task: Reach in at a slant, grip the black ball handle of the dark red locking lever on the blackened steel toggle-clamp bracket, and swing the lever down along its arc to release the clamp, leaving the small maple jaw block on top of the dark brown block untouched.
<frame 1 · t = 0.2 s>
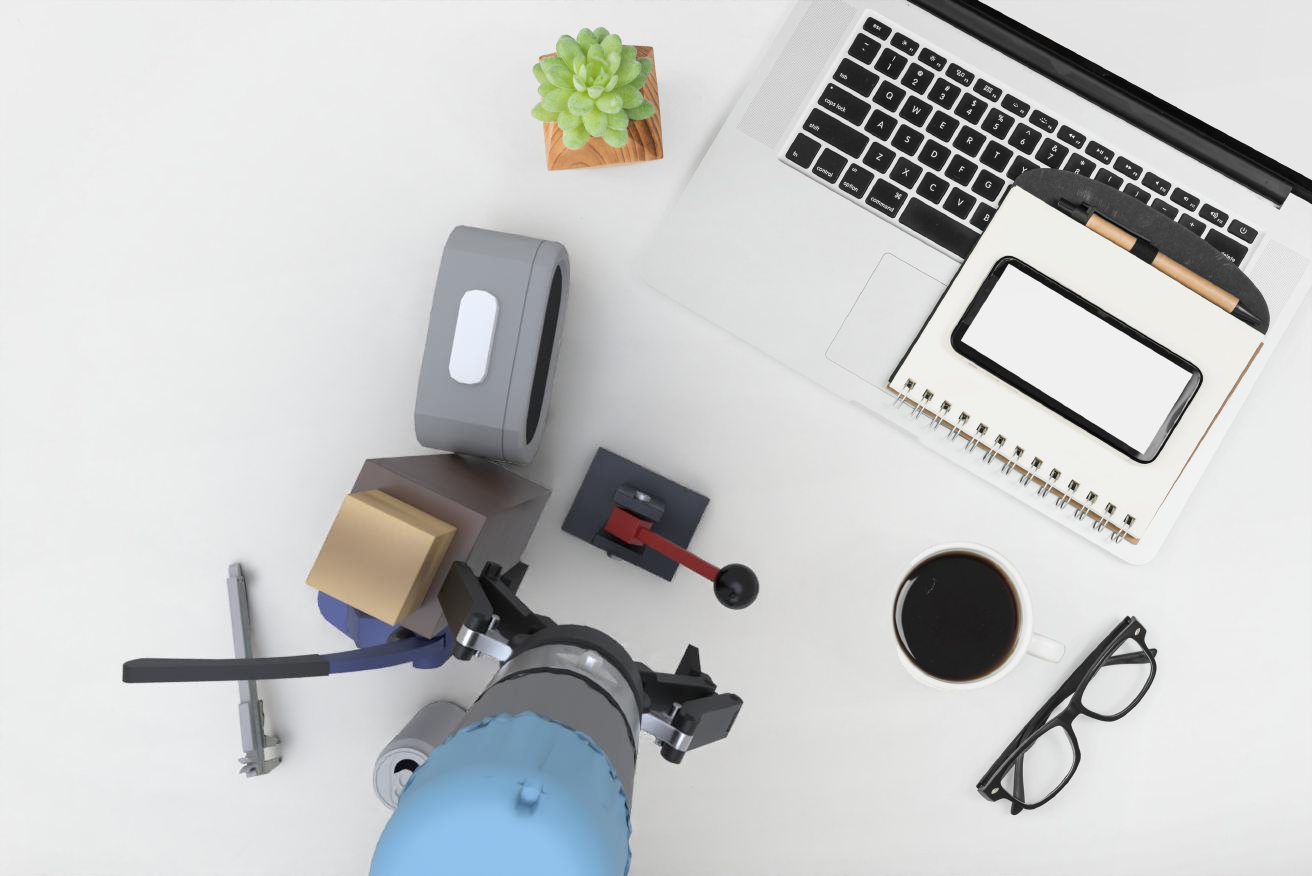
hand: (600, 621, 60), 23 cm above the table, tool pointing down, fingers open, 13 cm apart
alarm clock: (512, 354, 83), on the table
toggle clamp: (635, 513, 82), on the table
beverage can: (444, 730, 83), on the table
caliper: (258, 661, 84), on the table
clamp lever: (682, 556, 68), point 15 cm above the table, hinge at 28.0°
jaw block: (398, 549, 55), point 28 cm above the table, touching dark brown block
dark brown block: (492, 511, 83), on the table
clamp: (397, 597, 83), on the table
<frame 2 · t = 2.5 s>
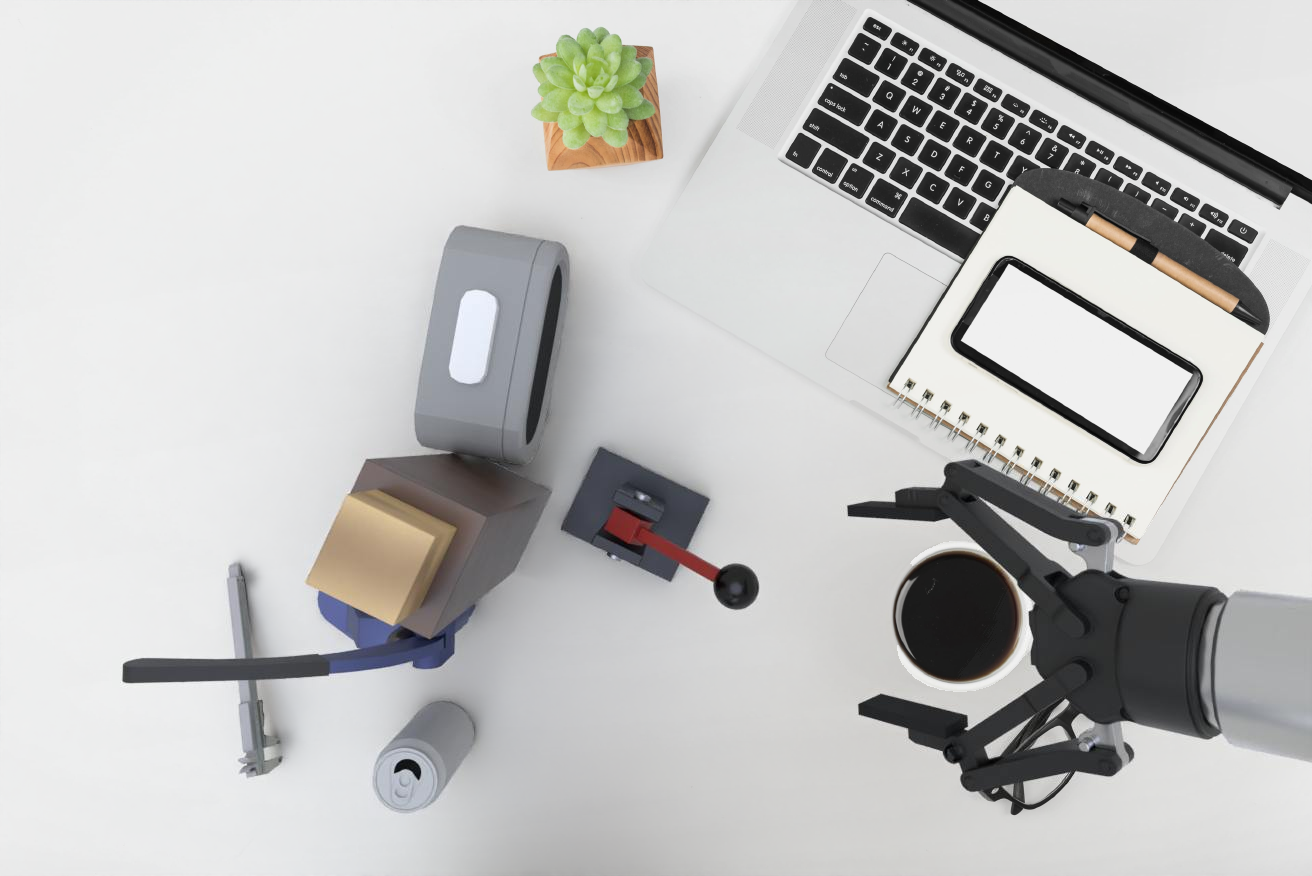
hand: (864, 606, 57), 25 cm above the table, tool tilted 40°, fingers open, 13 cm apart
nothing on the table moved.
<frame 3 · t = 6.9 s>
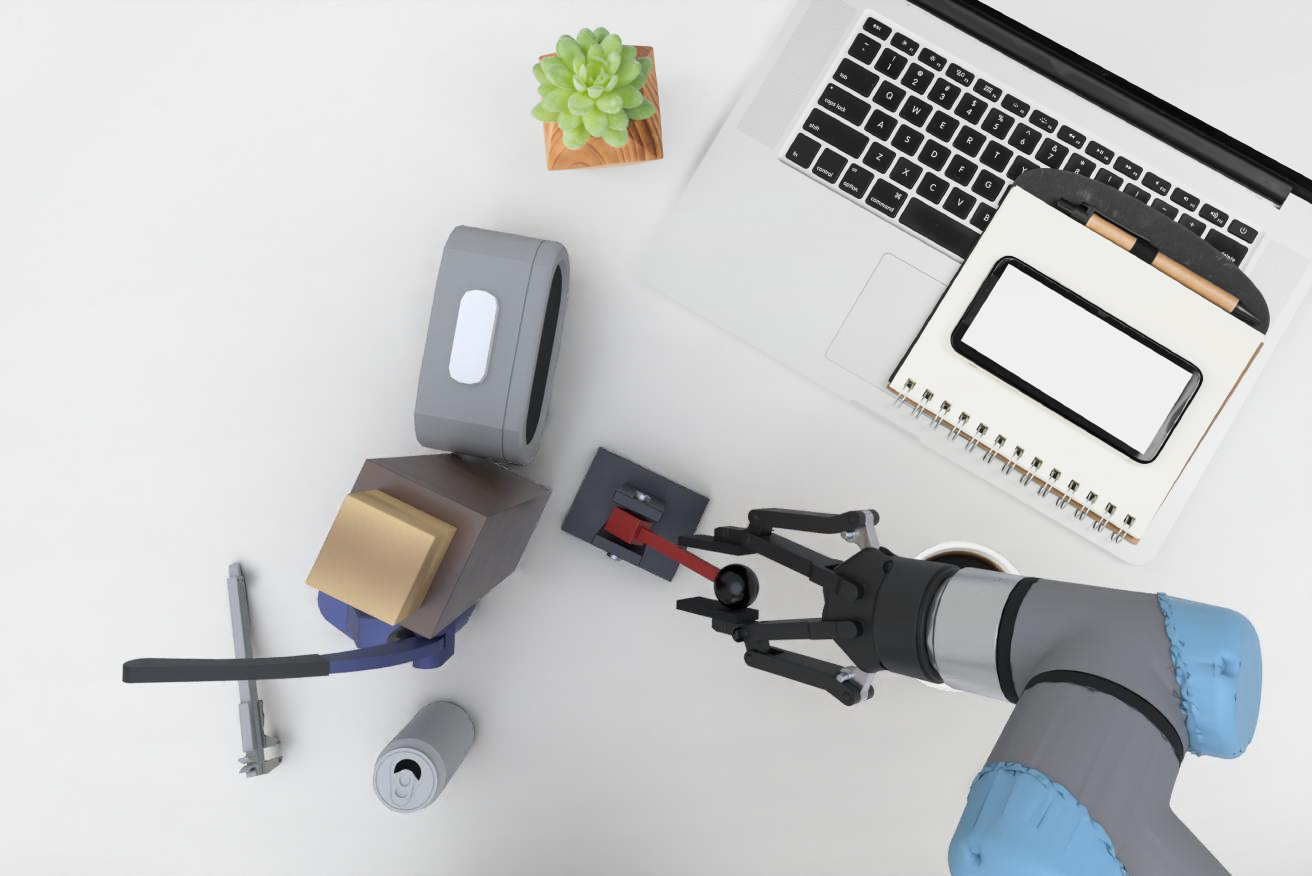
hand: (689, 571, 69), 14 cm above the table, tool tilted 45°, fingers closed on clamp lever, 4 cm apart
clamp lever: (682, 556, 68), point 15 cm above the table, hinge at 27.8°, touching gripper
everything else where it was.
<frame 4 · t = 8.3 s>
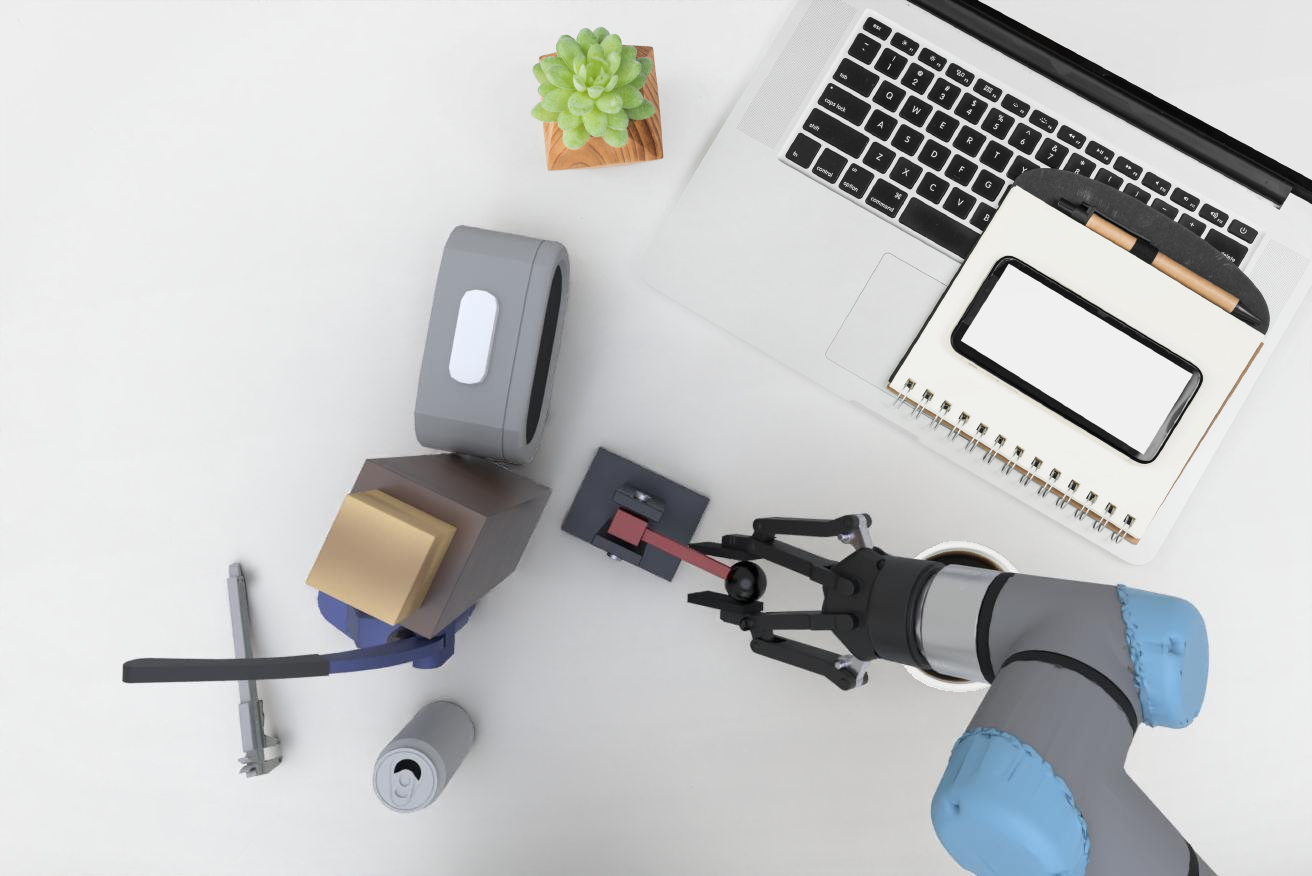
hand: (698, 571, 75), 8 cm above the table, tool tilted 45°, fingers open, 4 cm apart
clamp lever: (689, 555, 70), point 12 cm above the table, hinge at 0.0°, touching gripper
everything else where it was.
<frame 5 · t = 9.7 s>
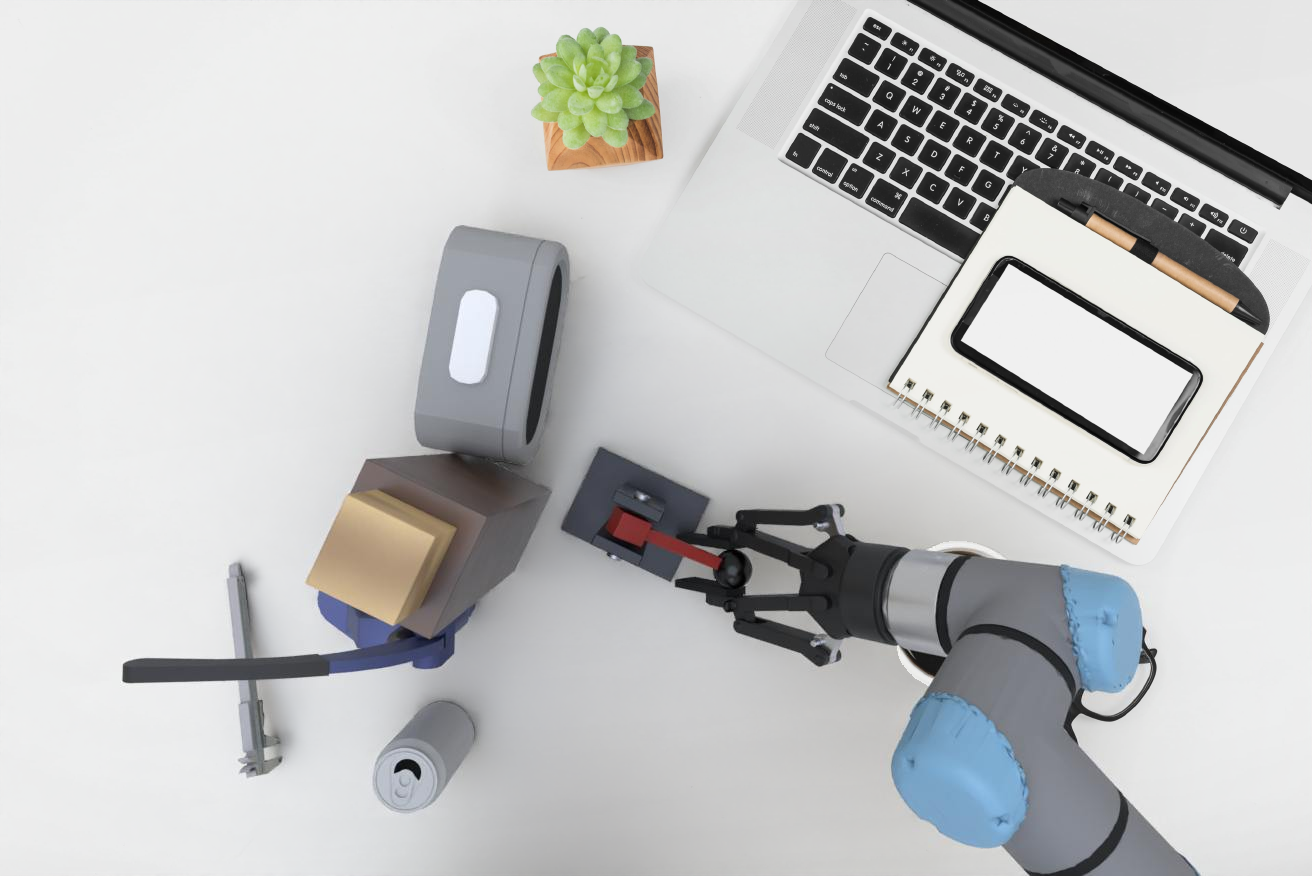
hand: (685, 559, 80), 3 cm above the table, tool tilted 45°, fingers closed on clamp lever, 4 cm apart
clamp lever: (683, 549, 72), point 10 cm above the table, hinge at -23.6°, touching gripper
everything else where it was.
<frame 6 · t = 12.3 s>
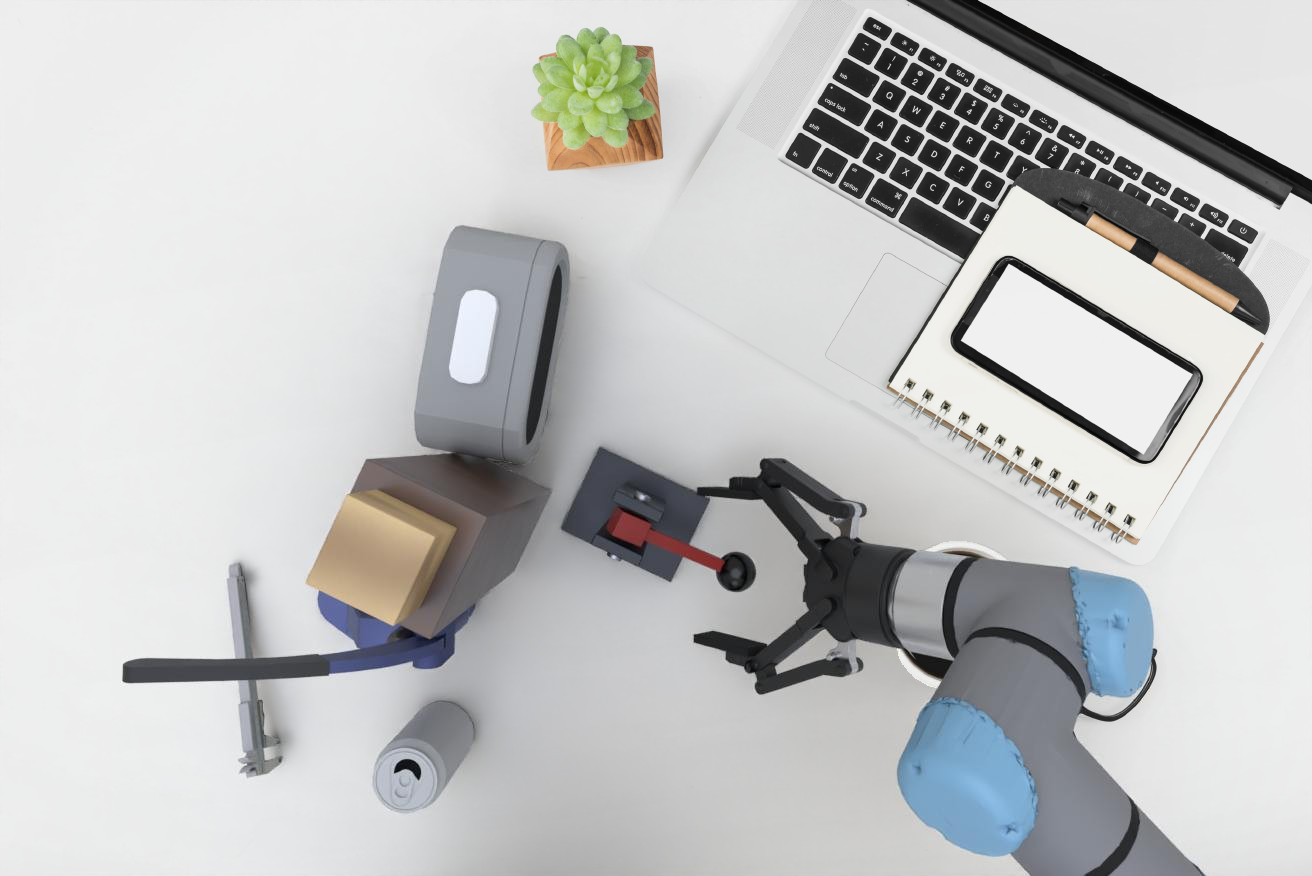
hand: (704, 563, 77), 5 cm above the table, tool tilted 45°, fingers open, 13 cm apart
clamp lever: (685, 550, 72), point 10 cm above the table, hinge at -19.4°
everything else where it was.
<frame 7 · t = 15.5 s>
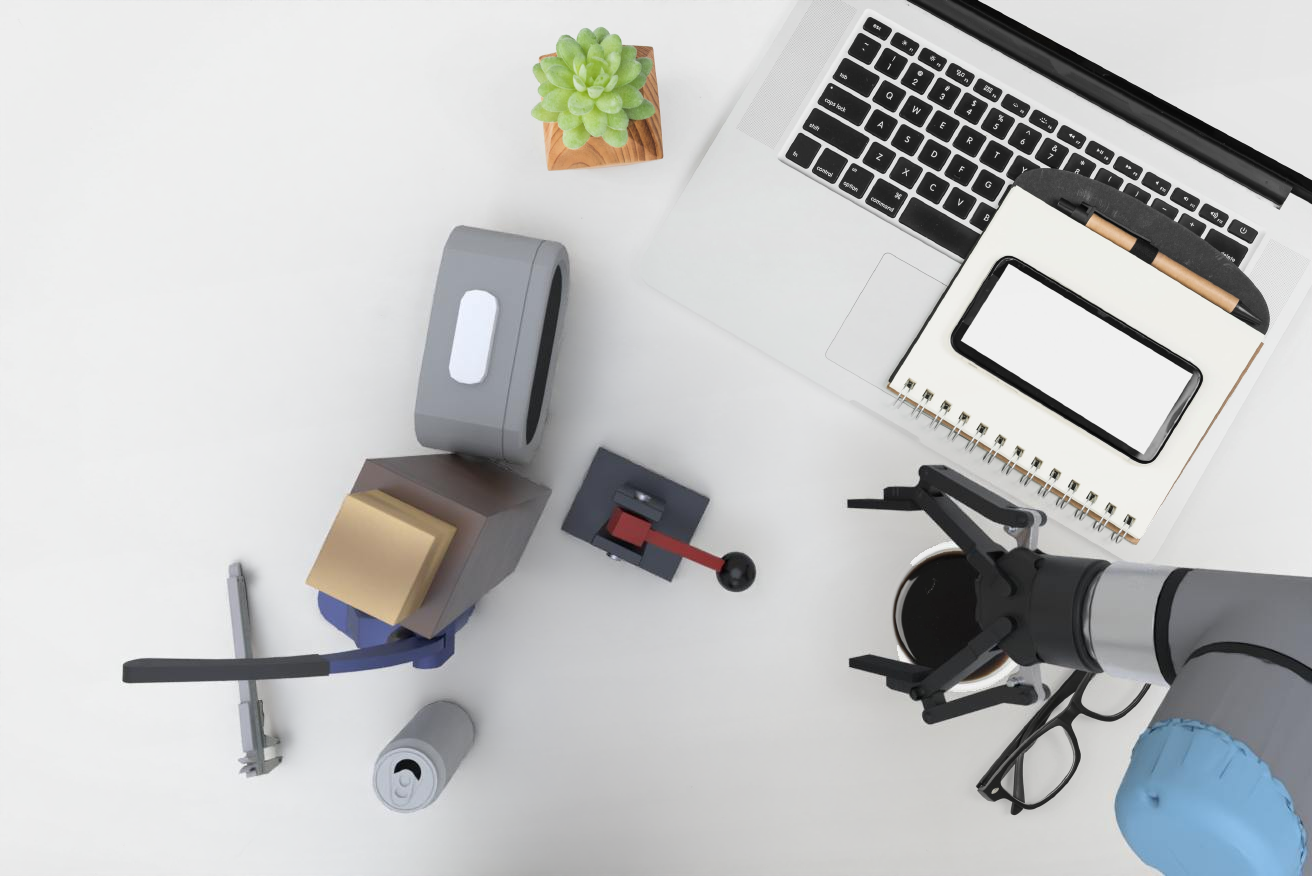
hand: (858, 581, 72), 10 cm above the table, tool tilted 35°, fingers open, 13 cm apart
nothing on the table moved.
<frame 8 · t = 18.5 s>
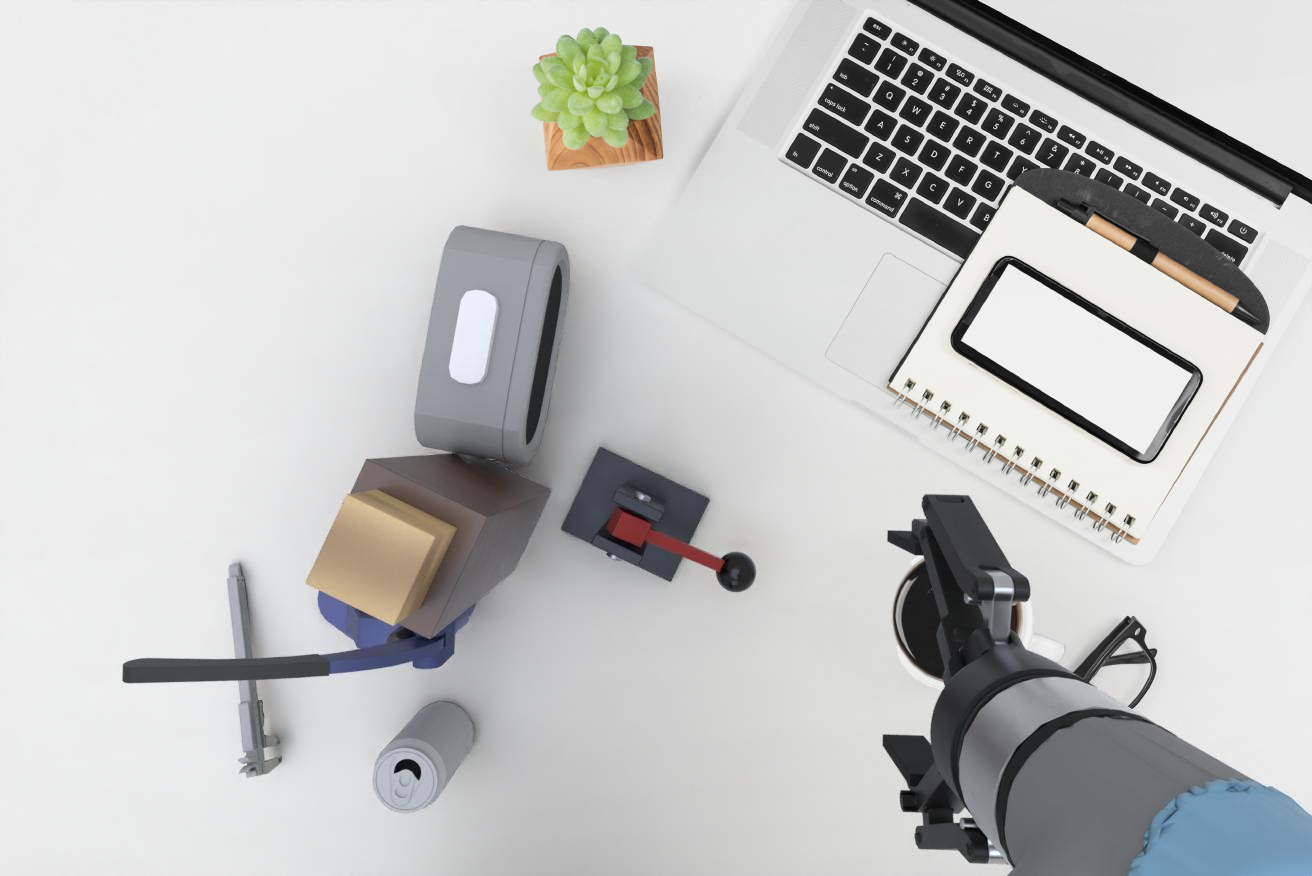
hand: (905, 638, 55), 27 cm above the table, tool pointing down, fingers open, 13 cm apart
nothing on the table moved.
at the end: clamp lever at -19° (first picture: +28°); the gripper is holding nothing; jaw block inside the target area on the dark brown block (0.0 cm from its centre), point 28.0 cm above the dark brown block's base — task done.
